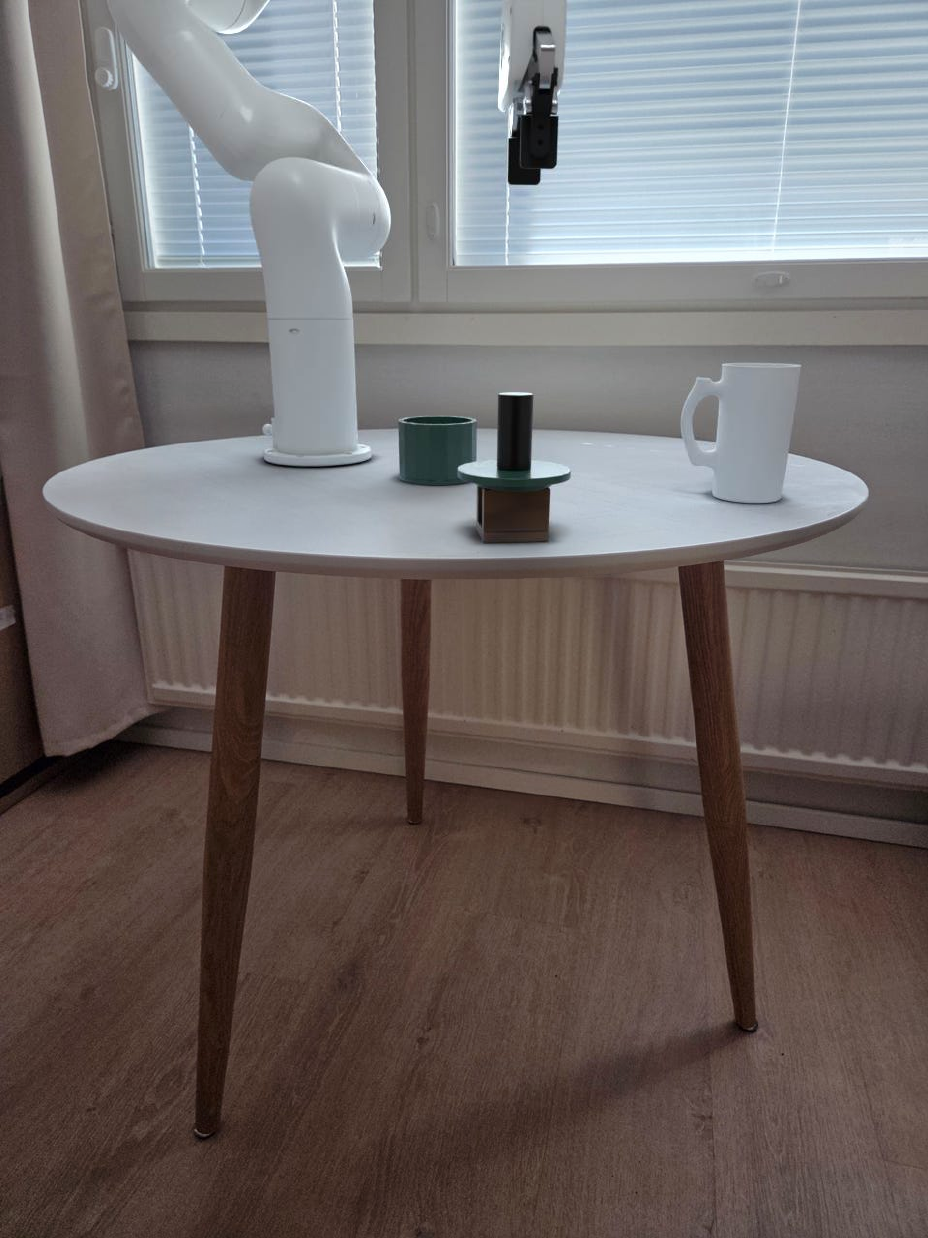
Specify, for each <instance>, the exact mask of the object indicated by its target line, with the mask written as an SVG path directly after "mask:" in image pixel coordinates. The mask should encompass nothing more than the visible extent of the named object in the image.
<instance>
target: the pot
mask: <svg viewBox="0 0 928 1238" xmlns="http://www.w3.org/2000/svg"><path fill="white" fill-rule="evenodd" d="M477 421H478V420H477V419H476V418H473V417H469V416H457V415H416V416H407V417H402V418H398V421H397V422H398V426H397V427H398V460H399V461H398V465H399V467H398V469H399V479H400V481H402V482H404V483H407V484H412V485H413V484H414V485H420V486H453V485H462V484H467V483H469V482H466V481H463V480H461V479H459V478H458V476H457V468H458V467H459V466H461V465H463V464H466V463H471V462H477V453H478V452H477V449H478V447H477V445H478V444H477V443H478V439H477V437H478V436H477V435H478V422H477Z"/></svg>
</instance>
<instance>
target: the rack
mask: <svg viewBox="0 0 928 1238" xmlns="http://www.w3.org/2000/svg"><path fill="white" fill-rule="evenodd" d="M550 507H551V487H549V488H546V489H542V490H535V491H518V492H516V491H497V490H490V489H485V488H481V487H479V486H477V485H476V520H475V523H476V524H475V528H476V531H477V533H478V535H479V537H480V539H481V541H482V542H483V543H484V544H491V543H492V544H493V543H495V544H496V543H497V544H499V543H533V542H549V541H550V531H549V530H550V513H551V512H550V510H551V509H550Z"/></svg>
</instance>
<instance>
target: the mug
mask: <svg viewBox="0 0 928 1238" xmlns="http://www.w3.org/2000/svg"><path fill="white" fill-rule="evenodd" d="M721 367H722V368H721V377H720V380H719V381H713V380H712V379H711V378H709V377H700V376H697V377H696V378H695V383H694V384H693V387H692V389H691V390H690V392H689V394H688V396H687V398H686V400H685V402H684V404H683V407H682V411H681V415H680V431H681V437H682V441H683V444H684V447H685V451H686V453H687V457H688V460H689V462H690V464H691V465H692V466H693V467H706V468H707V467H708V468H710V469H712V471H713V475H712V477H713V478H712V488H711V489H712V490H711V491H712V492H711V495H712V496H713V497H714V498H716V499H719V500H723V501H727V502H733V503H743V504H768V503H769V504H770V503H774V502H778V501H780V500H781V498H782V494H783V489H784V488H783V487H784V483H785V477H786V472H787V471H786V470H787V464H788V457H789V450H790V444H791V437H792V432H793V425H794V417H795V412H796V406H797V399H798V393H799V384H800V379H801V378H800V377H801V369H802V365H801V364H794V363H777V362H776V363H775V362H770V363H769V362H729V363H728V362H727V363H722V364H721ZM707 396H716V397H717V398H718V401H719V402H718V415H717V427H716V438H715V439H716V440H715V446H714V448H713V449H712V450H703V449H702V448H700V447H699V445H698V443H697V442H696V439H695V434H694V430H693V419H694V413H695V410H696V408H697V406H698V404H699V403H700V402H701V401H702V400H703V399H704V398H706V397H707Z"/></svg>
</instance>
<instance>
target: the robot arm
mask: <svg viewBox="0 0 928 1238" xmlns="http://www.w3.org/2000/svg"><path fill="white" fill-rule="evenodd" d="M105 1H106V4H107V7H108V10H109V13H110V15H111V18H112V21H113V22H114V25H115V26H116V29H117V31H118V32H119V34H120V36H121V38H122V39H123V41H124V43H125V45H127V48H129V50H130V51H131V53H132V54H133V56H134V57H135V58H136V60H138V62H139V63H140V65H141V66H142V67H143V68H144V70H145V71H146V72H147V73H148V74H149V75H150V77H151V78H152V79H153V80H154V82H155V83H156V84H157V85H158V86H159V87H160V88H161V90H162V91H163V92H164V93H165V95H166V96H167V97H168V98H169V101H171V103H172V105H174V107H175V108H176V109H177V111H178V112H179V114H180V115H181V117H182V118H183V120H185V122H186V123H187V124H188V126H189V127H190V128H191V129H192V131H193V132H194V133H195V135H196V136H197V137H198V139H199V140H200V141H201V142H202V144H203V145H204V147H205V148H206V149H207V150H208V151H209V153H210V154H211V155H212V157H213V158H214V159H215V161H216V162H217V163H218V165H219V166H220V167H221V168H222V169H223V170H224V171H225V172H226V173H227V174H229V175H230V176H232V177H233V178H235V179H237V180H240V181H242V182H247V183H250V184H252V185H251V189H250V194H249V215H250V216H249V217H250V222H251V226H252V231H253V235H254V238H255V242H256V247H257V250H258V251H257V252H258V255H259V260H260V264H261V265H260V266H261V271H262V278H263V286H264V297H265V308H266V309H265V310H266V319H267V331H268V333H267V334H268V345H269V346H268V347H269V357H270V358H269V359H270V372H271V388H272V389H271V390H272V402H273V403H272V404H273V415H274V417H271V418H270V420H271V421H270V422H271V424H270V423H264V424H263V426H262V433H263V434H264V435H265V436H270V437H272V445H271V446H269V447H266V448H265V449H264V450H263V459H264V461H266V462H267V463H271V464H275V465H280V466H281V465H282V466H291V467H330V466H331V467H332V466H343V465H344V466H345V465H351V464H358V463H362V462H365V461H367V460H370V459H371V458H372V457H373V456H372V448H371V447H370V446H369V445H366V444H362V443H359V435H358V434H359V433H358V431H359V430H358V409H357V385H356V383H357V381H356V361H355V360H356V359H355V358H356V357H355V334H354V331H355V330H354V315H353V299H352V298H353V297H352V292H351V287H350V283H349V279H348V275H347V273H346V270H345V267H344V263H343V261H351V262H353V261H362V260H366V259H369V258H371V257H373V256H375V255H377V253H378V252H379V251H381V250H382V248H383V247H384V246H385V244H386V242H387V240H388V238H389V234H390V230H391V223H392V222H391V220H392V218H391V209H390V206H389V205H390V204H389V202H388V199H387V196H386V194H385V191H384V189H383V188H382V187H381V185H380V183H379V181H378V180H377V179H376V177H375V176H374V175H373V174H372V172H371V171H370V169H369V168H368V167H367V166H366V165H365V163H364V162H363V161H362V160H361V158H360V157H359V156H358V154H357V153H356V152H355V150H354V149H353V148H352V147H351V145H350V144H349V143H348V142H347V141H346V139H345V138H344V137H343V135H342V134H341V133H340V131H338V129H337V128H336V126H335V125H334V124H333V123H332V122H331V121H330V120H329V118H328V117H327V116H325V115H324V114H323V113H322V111H320V110H318V109H317V108H316V107H314V106H313V105H311V104H310V103H308V102H306V101H303V100H301V99H298V98H296V97H293V96H290V95H287V94H284V93H281V92H278V91H276V90H273V89H272V88H270V87H267V86H264V85H263V84H262V83H260V82H259V81H258V80H257V79H256V78H255V77H253V76H252V75H251V73H250V72H249V71H248V70H247V69H246V68H245V66H243V64H242V63H241V62H240V60H238V58H237V57H236V55H235V54H234V52H233V51H232V50H231V48H230V47H229V46H228V45H227V44H226V42H225V41H224V40H223V39H222V38H221V37H220V36H219V35H218V34H217V33H221V34H226V35H230V34H237V33H240V32H242V31H243V30H245V29H248V27H249V26H250V25H251V24H253V22H254V21H255V20H256V19H257V18H258V17H259V15H260V14H261V13H262V11H263V10H264V9H265V7H266V6H267V4H268V3H269V2H270V0H105ZM567 7H568V0H502V4H501V18H500V19H501V20H500V43H499V47H500V48H499V50H500V51H499V75H498V76H499V77H498V101H497V108H498V109H499V111H500V112H501V113H505V112H506V111H507V109H508V108H511V114H510V115H511V116H510V127H509V138H508V139H507V184H508V185H510V186H538V185H539V184H540V183H541V180H542V179H541V177H542V175H541V174H542V170H553V169H555V168H556V167H557V165H558V142H559V140H558V139H559V118H560V117H559V115H557V114H558V109H559V99H558V97H559V95H560V93H561V91H562V88H563V83H564V74H565V63H566V62H565V61H566V47H567V46H566V44H567V43H566V42H567V12H568V11H567V9H568V8H567Z"/></svg>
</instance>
